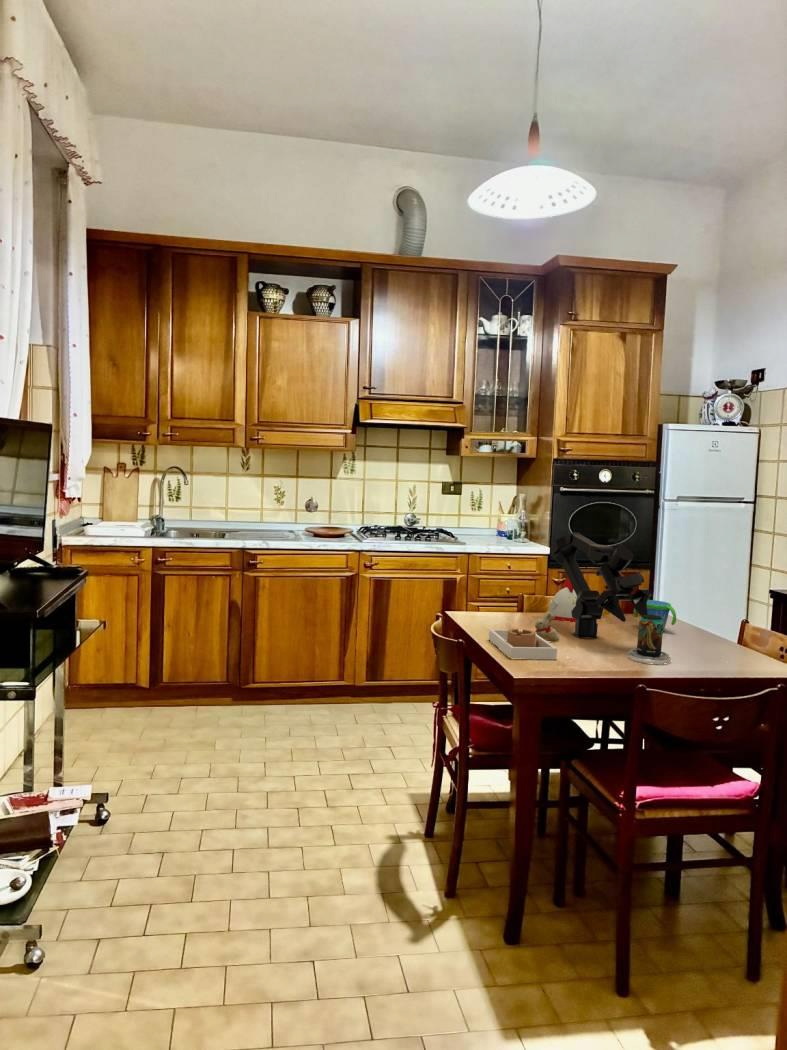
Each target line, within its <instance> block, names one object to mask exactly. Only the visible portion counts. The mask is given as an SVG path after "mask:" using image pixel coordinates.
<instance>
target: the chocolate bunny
mask: <svg viewBox="0 0 787 1050" xmlns="http://www.w3.org/2000/svg"><path fill="white" fill-rule="evenodd" d="M554 618H555V617H554V615H552V614H551V613H550V611H548V610H547V612H545V614H544V615H543V616H542V617H541V618H538V619H536V621H535V630H534V632H535V633H536V634H537V635H538V636H540V637H541V638H543V639H544V640H546V641H557V642H559V641H560V636H559V635H558V631H557V630H556V629H554V628H553V627H551V622H552V621H554V620H553V619H554ZM558 640H559V641H558Z"/></svg>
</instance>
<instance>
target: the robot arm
mask: <svg viewBox="0 0 787 1050" xmlns="http://www.w3.org/2000/svg"><path fill="white" fill-rule="evenodd" d="M578 550H579V551H581V552H583V553H585V554H586V555H587V558H588V559H589V561H591V563H592V564H594V565H601V566H599V567H597V571H596V573H595V574H596V576H597V577H600V576H601V577H602V580H603V581H604V583H605V584H606V585H605V586H604V588H605V590H602V592H601V593H600V592H599V591H598V590H591V588H590V587H589V584H588V582H587V580H586V578H585V576H584V574H583V573H582V570H581V568H580V566H579V565H578V562H577V560H576V555H577V552H578ZM549 552H550V554H551V557H552V558H553V560H555V562H557V563H559V564H560V565H561V566H562V567H563V570H564V571H565V572H564V573H565V574H566V576H567V579H569V580H570V583H571V585H572V587H573V590H574V591H575V593H576V595H577V599H576V606H575V607H574V608H573V610H572V611H571V613H572V617H573V618H576V622H574V623H575V624H574V626H575V627H574V631H573V632H572V635H574V636H576V637H578V638H580V639H598V636H597V635H598V627H599V626H598V625H599V623H597V620H602V616H603V612H604V610H605V611H607V612H608V613H610V614H612V615H613V616H614V617H616V618H617V619H618V620H620V622H623V623H625V622H626V620H627V619H626V617H625V615H624V612H623V610H622V608H621V605H620V602H621V601H622V602H624V601H629V602H630V603H631V604H632V605H633V606H632V607H633V609H635V610H636V611H637V612H638V615H640V617H642V615H648V613H647V600H650V598H651V597H652V596H653V594H652V592H651V591H650V590H651V589H649V588H638V589H637V590H635V588H636V587H638V586H640V587H641V586H642V584H644V583H645V577H644V576H643V574H642V573H637V572H636V574H631V575H627V576H623V575H622V572H621V571H624V570H625V569H626V568H627V566H628V565H629V564H630V563H631V561H633V559H634V553H633V551H631V550H630V549H629V548H627V547H626V546H625V545H624V544H623V543H617V544H616V546H615V548H613V547H612V546H610V545H609V546H608V545H605V544H598V543H596V542H594V540H593V541H592V540H591V539H589V538H587V537H585V536H584V535H582V533H581V532H568V533H566V534H565V535H564V536H562V537H560V538H558V539H556V540H555V541H553V542H552V543H551V545H550V547H549ZM634 591H635V592H634ZM632 592H634V593H632Z"/></svg>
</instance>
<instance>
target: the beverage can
mask: <svg viewBox="0 0 787 1050" xmlns="http://www.w3.org/2000/svg"><path fill="white" fill-rule="evenodd" d="M661 619H662V617H660V616H656V615H642V616H641V618H640V619H639V621H638V632H637V642H636V643H637V644H636V648H637V653H638V654H639V655H642V656H648V657H659V656H660V655H661V651H662V646H663V634H664V631H663V622H662V620H661Z"/></svg>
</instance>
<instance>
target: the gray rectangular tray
mask: <svg viewBox="0 0 787 1050" xmlns="http://www.w3.org/2000/svg"><path fill="white" fill-rule="evenodd" d="M508 630H509V629H489V630H488V641H489V640H490V641H491V642H492V643H494V644H495V645H496V646H497V647H498V648H500V649H501V650H502V651H503V652H504V653H505V654H507V655H508V656H509V657H510V658H518V659H519V658H522V659H523V658H525V659H537V658H538V659H556V660H557V658H558V655H557V654H558V648H557V647H556V646H554V644H552V643H551V642H547V641H546V640H544V639H543V638H541V637H540V636H538V635H537V633H536V634H535V639H537V642H536V647H513V646H512V645H511V644H509V643H508V642H507V641H506V640H507V634H508ZM518 631H519V632H523V629H518ZM490 641H489V642H490ZM491 642H490V643H491ZM492 643H491V644H492ZM495 645H494V646H495ZM496 646H495V647H496ZM497 647H496V648H497ZM498 648H497V649H498ZM503 652H502V653H503ZM504 653H503V654H504ZM505 654H504V655H505Z"/></svg>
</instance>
